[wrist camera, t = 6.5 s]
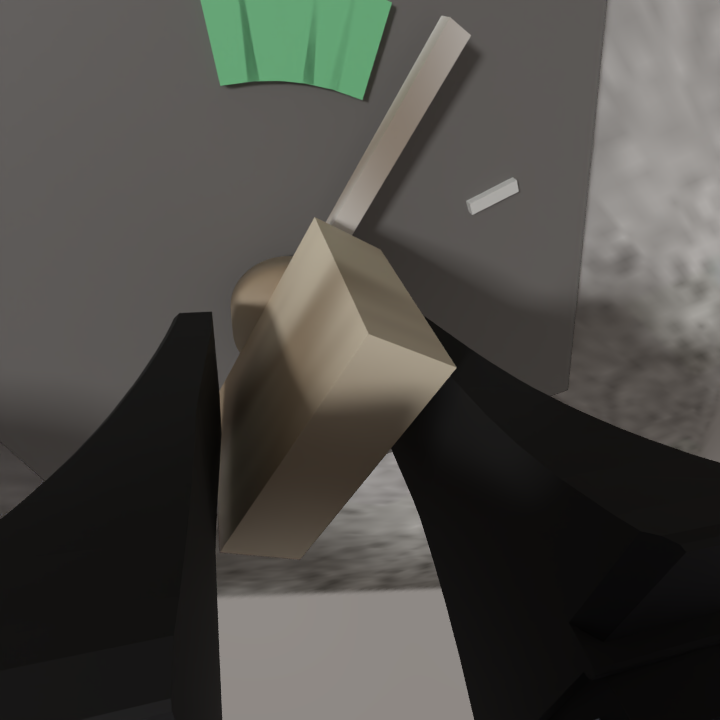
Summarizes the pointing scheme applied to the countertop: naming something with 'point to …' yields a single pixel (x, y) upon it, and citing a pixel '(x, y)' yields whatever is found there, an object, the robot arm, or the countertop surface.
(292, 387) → the peg
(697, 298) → the countertop surface
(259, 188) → the dial board
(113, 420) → the robot arm
